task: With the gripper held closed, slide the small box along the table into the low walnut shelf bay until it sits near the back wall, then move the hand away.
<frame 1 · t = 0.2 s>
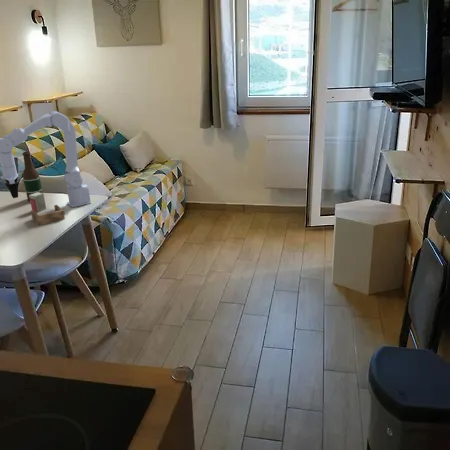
hand: (15, 195, 215), 10 cm above the table, tool pointing down, fingers open, 7 cm apart
small box: (39, 210, 226), on the table
walnut shelf bay: (48, 218, 214), on the table
beer bottle: (35, 199, 241), on the table
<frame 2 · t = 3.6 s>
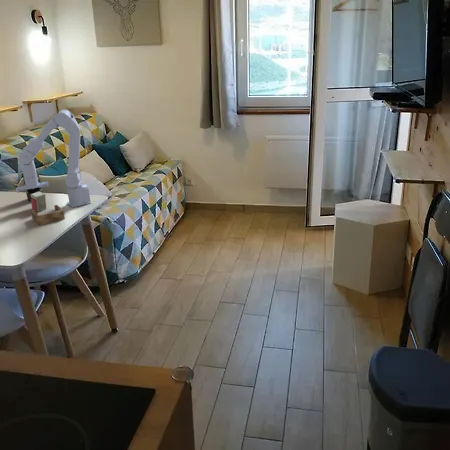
hand: (36, 203, 228), 2 cm above the table, tool pointing down, fingers closed
small box: (39, 209, 225), on the table, touching gripper
everything else where it was.
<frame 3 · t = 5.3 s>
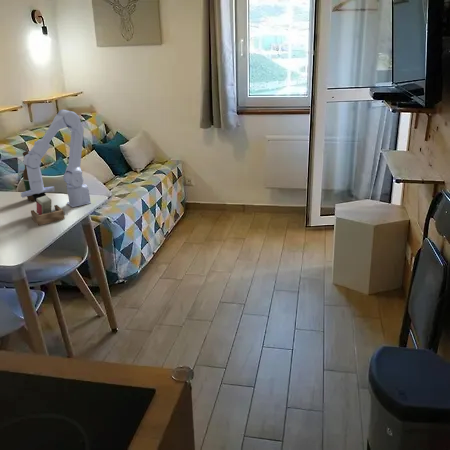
hand: (41, 208, 221), 2 cm above the table, tool pointing down, fingers closed
small box: (43, 213, 219), on the table, touching gripper
everything else where it was.
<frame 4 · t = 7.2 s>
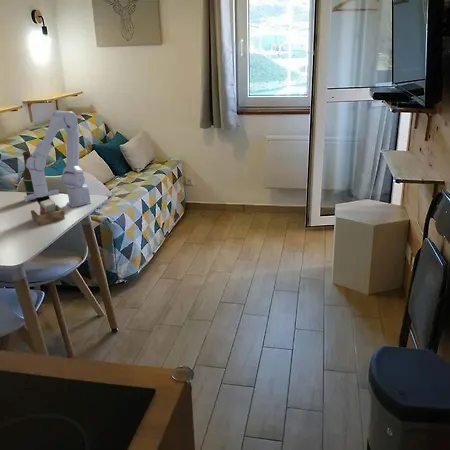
hand: (45, 212, 216), 2 cm above the table, tool pointing down, fingers closed
small box: (47, 217, 214), on the table, touching gripper
everything else where it was.
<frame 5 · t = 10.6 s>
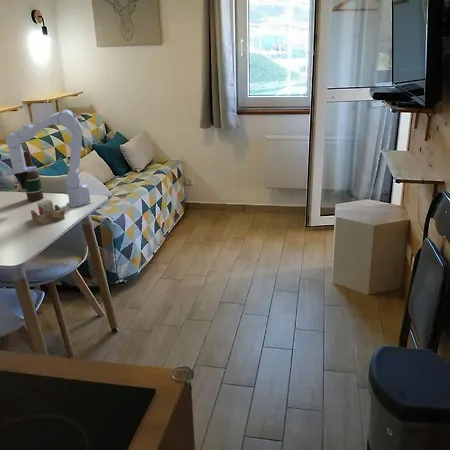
hand: (23, 188, 223), 10 cm above the table, tool pointing down, fingers closed
small box: (47, 218, 214), on the table
everything else where it was.
at the end: small box 1.1 cm off-centre on the walnut shelf bay, point 0.0 cm above the walnut shelf bay's base; small box tilted 0°; small box moved 14.4 cm from its start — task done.
